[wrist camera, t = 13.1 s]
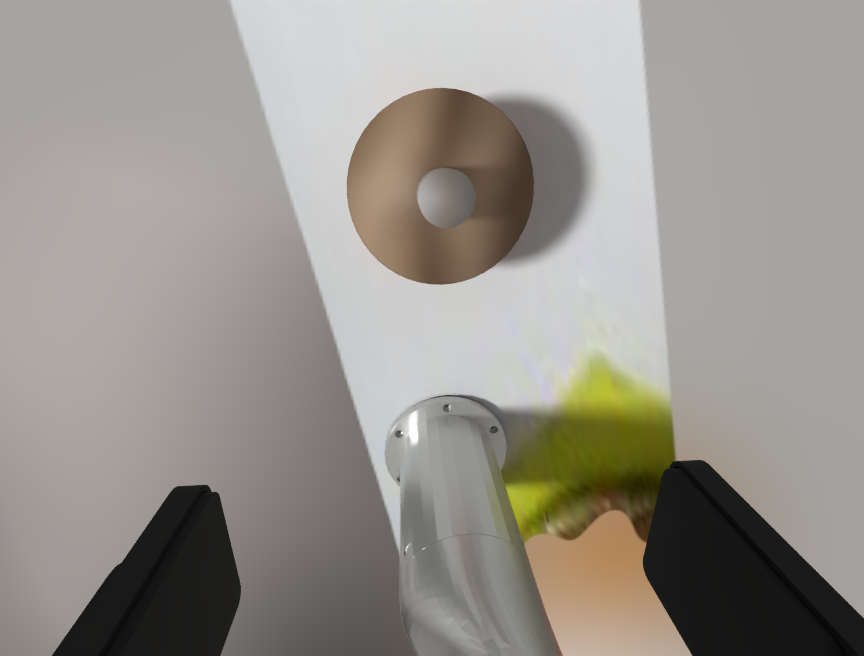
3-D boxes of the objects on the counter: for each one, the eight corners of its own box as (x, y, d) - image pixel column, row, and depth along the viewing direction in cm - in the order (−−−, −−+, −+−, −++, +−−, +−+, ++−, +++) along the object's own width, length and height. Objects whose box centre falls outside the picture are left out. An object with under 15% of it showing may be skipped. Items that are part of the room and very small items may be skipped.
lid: (537, 90, 29) (563, 78, 24) (522, 279, 34) (542, 298, 29) (341, 89, 28) (329, 76, 24) (354, 282, 33) (347, 302, 28)
